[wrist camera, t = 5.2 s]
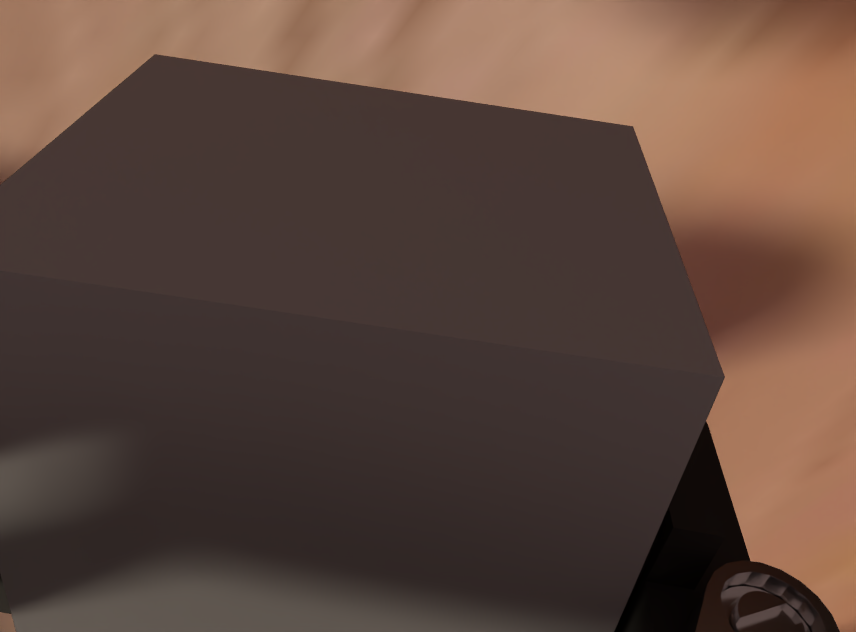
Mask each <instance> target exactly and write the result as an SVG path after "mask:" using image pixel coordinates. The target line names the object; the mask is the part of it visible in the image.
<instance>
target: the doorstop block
mask: <svg viewBox="0 0 856 632" xmlns="http://www.w3.org/2000/svg"><path fill="white" fill-rule="evenodd" d="M724 378H725V376H724V374H723V371H722V368H721V365H720V363H719V360H718V357H717V355H716V352H715V349H714V346H713V344H712V341H711V338H710V335H709V333H708V330H707V327H706V325H705V322H704V319H703V316H702V314H701V311H700V308H699V305H698V303H697V300H696V297H695V294H694V292H693V289H692V286H691V284H690V281H689V278H688V275H687V273H686V270H685V267H684V264H683V262H682V259H681V256H680V254H679V251H678V248H677V245H676V243H675V240H674V237H673V234H672V232H671V229H670V226H669V223H668V221H667V218H666V215H665V213H664V210H663V207H662V204H661V202H660V199H659V196H658V193H657V191H656V188H655V185H654V182H653V180H652V177H651V174H650V172H649V169H648V166H647V163H646V161H645V158H644V155H643V152H642V150H641V147H640V144H639V142H638V139H637V136H636V133H635V131H634V128H633V126H626V125H620V124H613V123H606V122H600V121H593V120H587V119H580V118H573V117H567V116H560V115H553V114H547V113H540V112H534V111H527V110H520V109H514V108H507V107H500V106H494V105H487V104H481V103H474V102H467V101H461V100H454V99H447V98H441V97H434V96H427V95H421V94H414V93H408V92H401V91H394V90H388V89H381V88H374V87H368V86H361V85H355V84H348V83H341V82H335V81H328V80H321V79H315V78H308V77H302V76H295V75H288V74H282V73H275V72H268V71H262V70H255V69H249V68H242V67H235V66H229V65H222V64H215V63H209V62H202V61H196V60H189V59H182V58H176V57H169V56H162V55H156V54H155V55H154V56H152V57H151V58H150V59H149V60H148V61H146V62H145V63H144V64H143V65H142V66H141V67H139V68H138V69H137V70H136V71H135V72H133V73H132V74H131V75H130V76H129V77H128V78H126V79H125V80H124V81H123V82H122V83H120V84H119V85H118V86H117V87H116V88H115V89H113V90H112V91H111V92H110V93H109V94H107V95H106V96H105V97H104V98H103V99H101V100H100V101H99V102H98V103H97V104H96V105H94V106H93V107H92V108H91V109H90V110H88V111H87V112H86V113H85V114H84V115H83V116H81V117H80V118H79V119H78V120H77V121H75V122H74V123H73V124H72V125H71V126H70V127H68V128H67V129H66V130H65V131H64V132H62V133H61V134H60V135H59V136H58V137H56V138H55V139H54V140H53V141H52V142H51V143H49V144H48V145H47V146H46V147H45V148H43V149H42V150H41V151H40V152H39V153H38V154H36V155H35V156H34V157H33V158H32V159H30V160H29V161H28V162H27V163H26V164H24V165H23V166H22V167H21V168H20V169H19V170H17V171H16V172H15V173H14V174H13V175H11V176H10V177H9V178H8V179H7V180H6V181H4V182H3V183H2V184H1V185H0V574H1V578H2V581H3V585H4V589H5V592H6V596H7V600H8V603H9V607H10V611H11V614H12V618H13V622H14V625H15V629H16V632H614V631H615V629H616V626H617V624H618V622H619V619H620V617H621V615H622V613H623V610H624V608H625V606H626V603H627V601H628V599H629V596H630V594H631V592H632V590H633V587H634V585H635V583H636V580H637V578H638V576H639V573H640V571H641V569H642V567H643V564H644V562H645V560H646V557H647V555H648V553H649V550H650V548H651V546H652V544H653V541H654V539H655V537H656V534H657V532H658V530H659V527H660V525H661V523H662V521H663V518H664V516H665V514H666V511H667V509H668V507H669V504H670V502H671V500H672V498H673V495H674V493H675V491H676V488H677V486H678V484H679V481H680V479H681V477H682V475H683V472H684V470H685V468H686V465H687V463H688V461H689V458H690V456H691V454H692V452H693V449H694V447H695V445H696V442H697V440H698V438H699V435H700V433H701V431H702V429H703V426H704V424H705V422H706V419H707V417H708V415H709V412H710V410H711V408H712V406H713V403H714V401H715V399H716V396H717V394H718V392H719V389H720V387H721V385H722V383H723V380H724Z"/></svg>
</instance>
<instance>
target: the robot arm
mask: <svg viewBox="0 0 856 632" xmlns="http://www.w3.org/2000/svg"><path fill="white" fill-rule="evenodd" d="M0 612H3V613H9V614H11V611H10V607H9V603H8V600H7V596H6V592H5V589H4V585H3V581H2V578H1V574H0ZM614 632H840V631H839V629H838V627H837V624H836V622H835V620H834V618H833V616H832V614H831V613H830V611H829V610H828V609H827V608H826V606H825V605H824V604H823V602H822V601H821V600H820V599H819V597H818V596H817V595H815V594H814V593H813V592H812V591H811V590H810V589H809V588H807V587H806V586H805V585H804V584H803V583H802V582H801V581H799V580H797V579H796V578H794V577H792V576H791V575H789V574H787V573H786V572H784V571H782V570H780V569H777V568H775V567H772V566H769V565H766V564H764V563H760V562H752V561H750V558H749V555H748V552H747V549H746V545H745V542H744V539H743V536H742V533H741V529H740V526H739V523H738V520H737V517H736V513H735V510H734V507H733V504H732V501H731V497H730V494H729V491H728V488H727V485H726V481H725V478H724V475H723V472H722V469H721V465H720V462H719V459H718V456H717V453H716V449H715V446H714V443H713V440H712V437H711V433H710V430H709V427H708V424H707V422H705V424H704V426H703V429H702V431H701V433H700V435H699V438H698V440H697V442H696V445H695V447H694V449H693V452H692V454H691V456H690V458H689V461H688V463H687V465H686V468H685V470H684V472H683V475H682V477H681V479H680V481H679V484H678V486H677V488H676V491H675V493H674V495H673V498H672V500H671V502H670V504H669V507H668V509H667V511H666V514H665V516H664V518H663V521H662V523H661V525H660V527H659V530H658V532H657V534H656V537H655V539H654V541H653V544H652V546H651V548H650V550H649V553H648V555H647V557H646V560H645V562H644V564H643V567H642V569H641V571H640V573H639V576H638V578H637V580H636V583H635V585H634V587H633V590H632V592H631V594H630V596H629V599H628V601H627V603H626V606H625V608H624V610H623V613H622V615H621V617H620V619H619V622H618V624H617V626H616V629H615V631H614Z"/></svg>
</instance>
